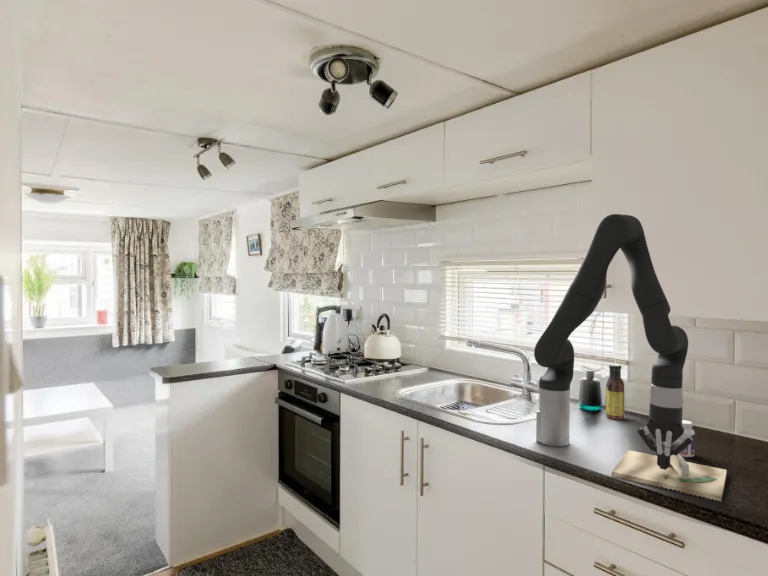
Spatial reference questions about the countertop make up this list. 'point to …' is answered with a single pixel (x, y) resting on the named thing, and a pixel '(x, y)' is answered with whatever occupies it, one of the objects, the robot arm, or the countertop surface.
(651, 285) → the robot arm
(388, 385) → the countertop surface
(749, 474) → the countertop surface
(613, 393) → the sauce bottle
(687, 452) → the pill bottle
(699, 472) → the board
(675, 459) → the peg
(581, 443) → the countertop surface
